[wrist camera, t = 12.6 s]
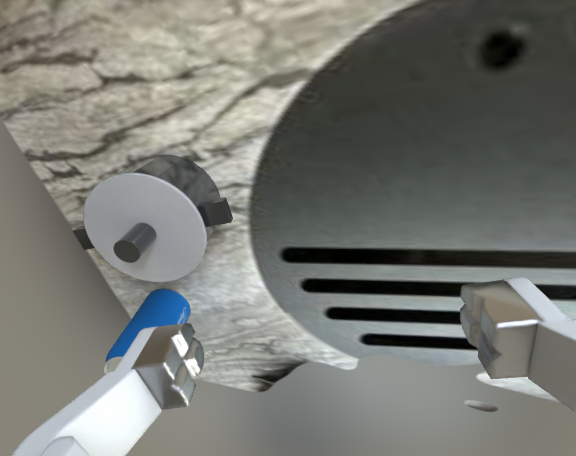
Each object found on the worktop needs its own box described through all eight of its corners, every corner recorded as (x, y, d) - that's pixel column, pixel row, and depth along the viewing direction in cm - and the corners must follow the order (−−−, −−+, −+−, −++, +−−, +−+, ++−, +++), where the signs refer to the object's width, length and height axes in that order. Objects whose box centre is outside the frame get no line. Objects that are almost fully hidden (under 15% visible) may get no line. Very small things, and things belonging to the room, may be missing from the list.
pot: (89, 170, 37) (42, 193, 30) (225, 139, 34) (205, 157, 27) (133, 252, 42) (101, 287, 35) (253, 230, 39) (243, 264, 32)
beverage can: (198, 317, 46) (165, 391, 36) (158, 321, 47) (115, 395, 37) (183, 283, 44) (143, 352, 33) (141, 288, 44) (89, 358, 34)
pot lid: (66, 184, 30) (29, 203, 26) (181, 158, 28) (160, 173, 24) (124, 283, 35) (100, 311, 31) (224, 267, 34) (212, 294, 29)
